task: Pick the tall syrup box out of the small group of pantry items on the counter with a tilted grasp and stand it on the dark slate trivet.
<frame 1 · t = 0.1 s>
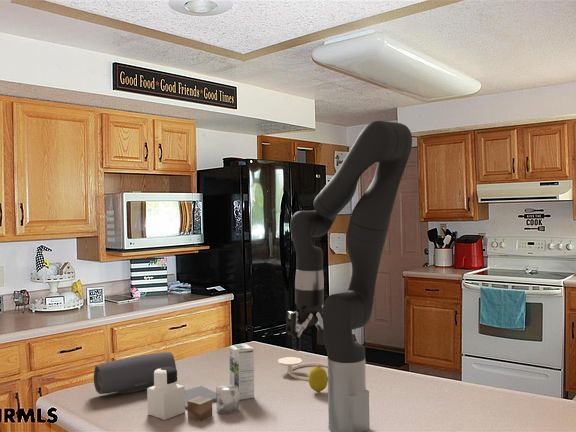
hand: (309, 347, 144), 17 cm above the countertop, tool pointing down, fingers open, 8 cm apart
medicine bottle: (166, 414, 146), on the countertop
slate trivet: (194, 398, 157), on the countertop
lemon: (318, 393, 160), on the countertop
bluetooth speaker: (136, 390, 166), on the countertop
syrup box: (242, 397, 158), on the countertop
hand towel holder: (308, 374, 179), on the countertop
walnut block: (200, 417, 143), on the countertop
brushed tin: (227, 410, 148), on the countertop
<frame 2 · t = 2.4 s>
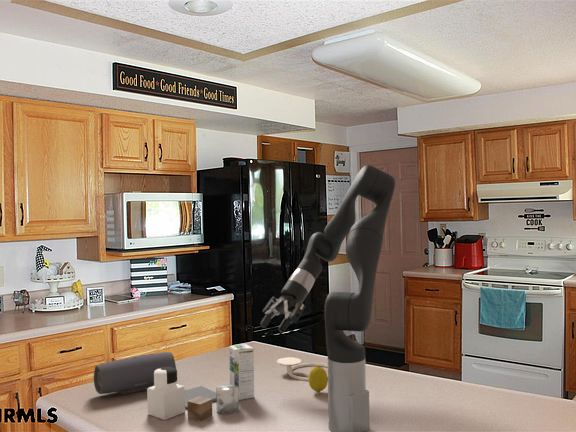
hand: (271, 328, 165), 18 cm above the countertop, tool tilted 45°, fingers open, 8 cm apart
nothing on the countertop moved.
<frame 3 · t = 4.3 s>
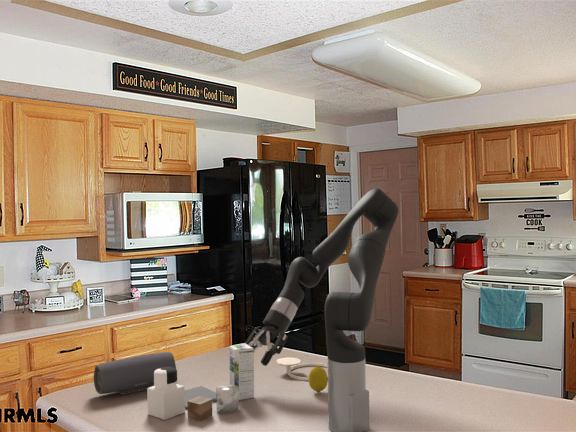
hand: (254, 362, 160), 9 cm above the countertop, tool tilted 40°, fingers open, 8 cm apart
nothing on the countertop moved.
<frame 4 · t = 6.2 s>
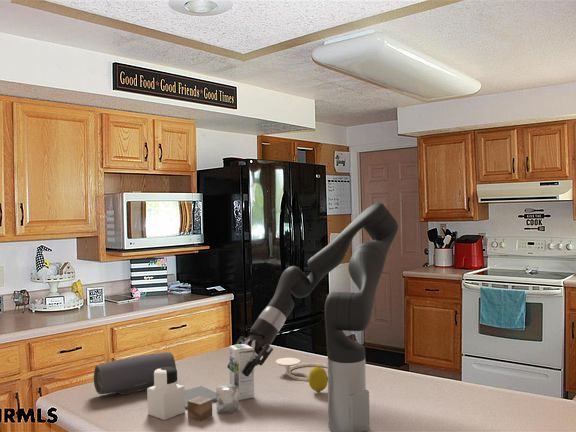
hand: (237, 371, 157), 7 cm above the countertop, tool tilted 45°, fingers closed on syrup box, 6 cm apart
syrup box: (242, 397, 158), on the countertop, touching gripper
everything else where it was.
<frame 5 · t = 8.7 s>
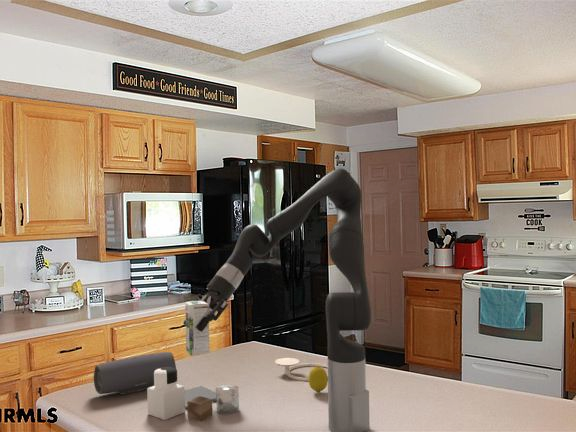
hand: (192, 327, 157), 20 cm above the countertop, tool tilted 45°, fingers closed on syrup box, 6 cm apart
syrup box: (198, 353, 158), point 13 cm above the countertop, touching gripper
everything else where it was.
when the fingers open (10 cm above the countertop, at t = 11.4 s): syrup box drops 1 cm, resting on slate trivet.
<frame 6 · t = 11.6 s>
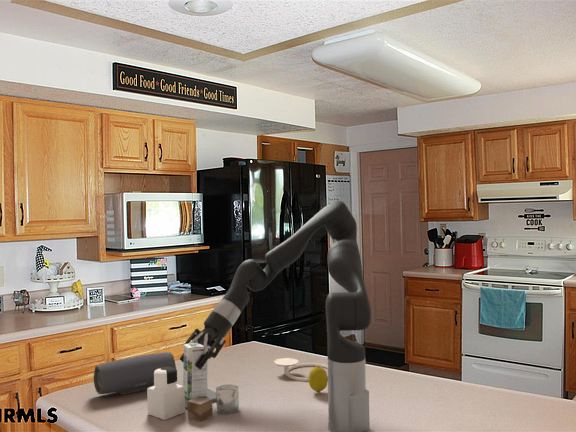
hand: (189, 364, 156), 10 cm above the countertop, tool tilted 45°, fingers open, 8 cm apart
syrup box: (195, 395, 157), point 1 cm above the countertop, touching slate trivet
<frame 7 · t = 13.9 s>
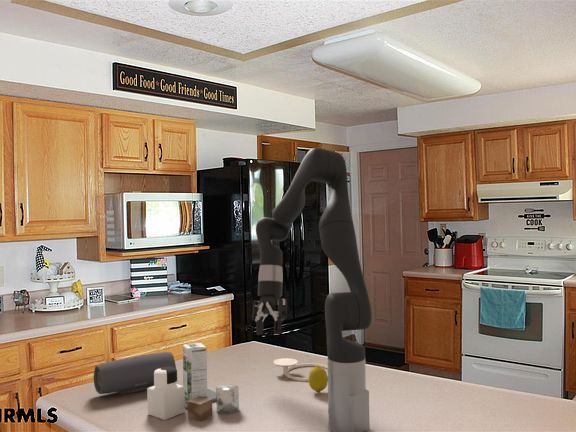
hand: (268, 334, 166), 16 cm above the countertop, tool tilted 15°, fingers open, 8 cm apart
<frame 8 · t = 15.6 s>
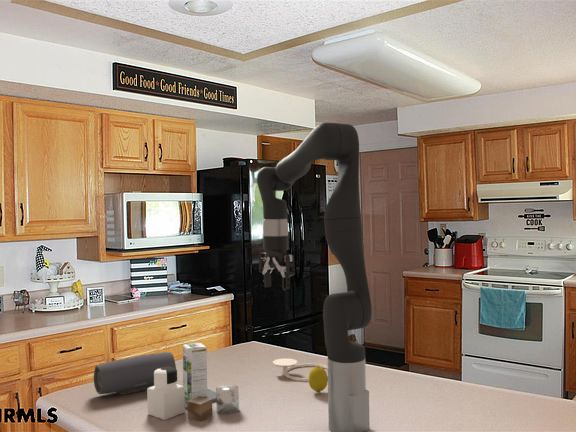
hand: (276, 288, 164), 30 cm above the countertop, tool pointing down, fingers open, 8 cm apart
at the end: syrup box inside the target area on the slate trivet (0.3 cm from its centre), point 0.6 cm above the slate trivet's base; syrup box tilted 0°; the gripper is holding nothing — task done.
